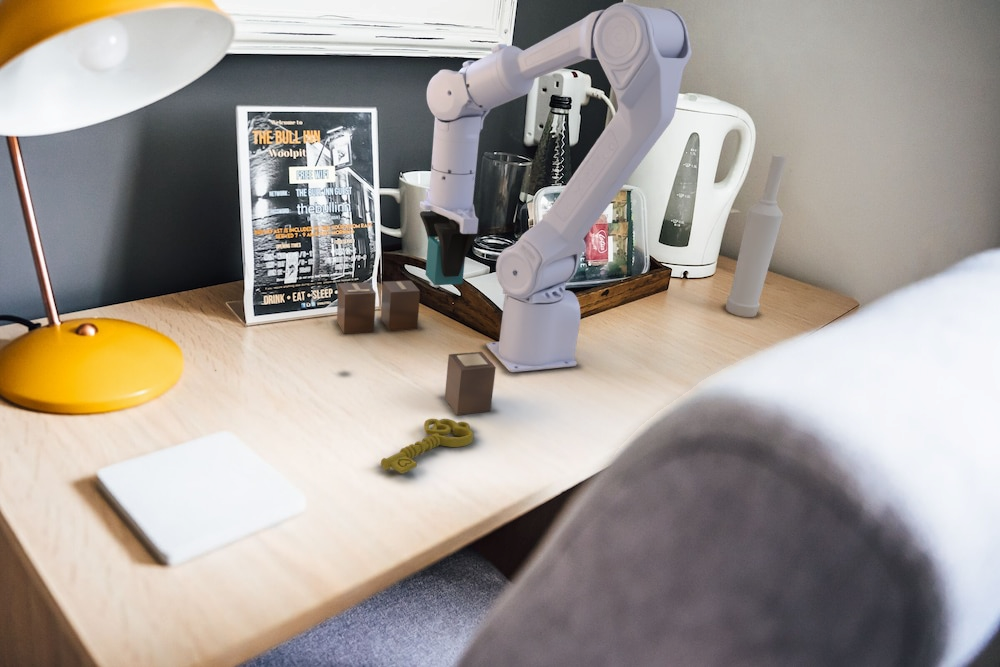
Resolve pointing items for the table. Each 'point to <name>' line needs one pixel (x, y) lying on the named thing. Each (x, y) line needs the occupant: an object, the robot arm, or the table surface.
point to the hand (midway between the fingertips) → (444, 269)
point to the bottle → (757, 246)
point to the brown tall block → (469, 383)
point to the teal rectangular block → (439, 265)
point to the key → (430, 443)
